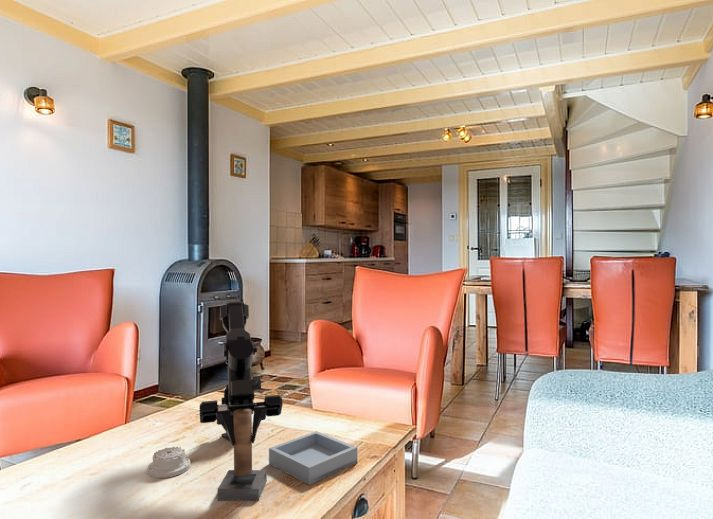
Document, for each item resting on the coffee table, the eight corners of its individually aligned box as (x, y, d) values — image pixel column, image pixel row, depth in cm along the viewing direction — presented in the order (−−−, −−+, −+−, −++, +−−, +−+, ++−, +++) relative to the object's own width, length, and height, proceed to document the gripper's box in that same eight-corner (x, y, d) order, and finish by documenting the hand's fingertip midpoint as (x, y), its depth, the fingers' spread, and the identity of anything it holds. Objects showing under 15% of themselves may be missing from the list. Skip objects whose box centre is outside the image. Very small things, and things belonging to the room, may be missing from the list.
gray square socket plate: (217, 500, 104) (217, 489, 104) (228, 480, 113) (228, 470, 113) (258, 500, 104) (258, 489, 104) (266, 480, 113) (266, 470, 113)
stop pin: (230, 472, 108) (230, 411, 108) (245, 466, 111) (245, 407, 111) (240, 478, 106) (239, 415, 105) (255, 472, 108) (255, 411, 108)
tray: (269, 463, 122) (268, 448, 122) (316, 445, 133) (316, 431, 133) (309, 484, 111) (309, 467, 111) (357, 462, 122) (357, 447, 122)
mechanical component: (138, 477, 116) (175, 480, 114) (138, 459, 115) (175, 462, 113) (163, 459, 125) (197, 462, 123) (163, 442, 125) (197, 445, 123)
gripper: (199, 367, 109) (198, 432, 99) (281, 361, 114) (288, 423, 104) (200, 391, 117) (199, 454, 106) (277, 385, 122) (283, 444, 112)
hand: (243, 443), depth 107 cm, fingers closed on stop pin, 4 cm apart
